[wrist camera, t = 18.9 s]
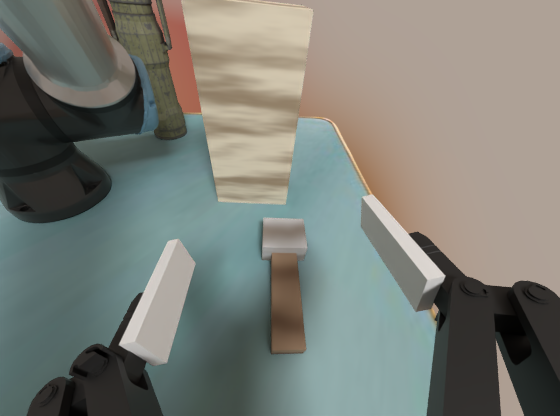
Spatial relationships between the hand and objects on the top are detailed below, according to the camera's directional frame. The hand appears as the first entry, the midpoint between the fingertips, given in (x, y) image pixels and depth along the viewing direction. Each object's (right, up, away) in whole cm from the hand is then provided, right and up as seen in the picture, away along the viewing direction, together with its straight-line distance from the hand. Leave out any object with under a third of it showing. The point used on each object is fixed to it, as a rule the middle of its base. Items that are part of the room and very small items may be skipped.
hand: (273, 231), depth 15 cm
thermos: (-31, +24, +46) cm, 61 cm away
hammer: (+1, -10, +18) cm, 20 cm away
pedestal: (-5, +6, +32) cm, 33 cm away
